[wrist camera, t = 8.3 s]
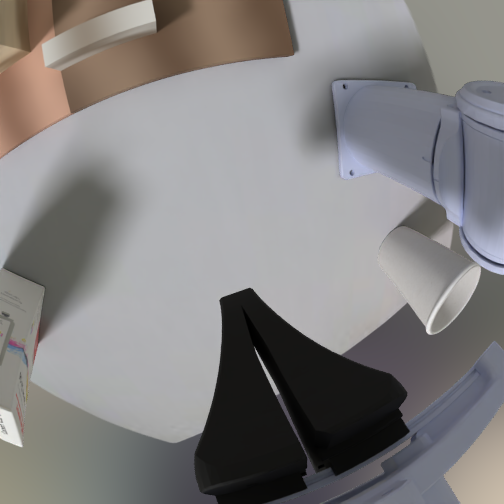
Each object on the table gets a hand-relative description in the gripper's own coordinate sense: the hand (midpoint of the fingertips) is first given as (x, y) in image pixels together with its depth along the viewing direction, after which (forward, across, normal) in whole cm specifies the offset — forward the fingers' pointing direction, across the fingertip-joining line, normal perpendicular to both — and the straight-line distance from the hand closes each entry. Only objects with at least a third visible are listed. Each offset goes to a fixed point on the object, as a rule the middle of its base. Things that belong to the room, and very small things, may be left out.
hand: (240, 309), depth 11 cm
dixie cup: (+10, -19, +10) cm, 24 cm away
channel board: (+9, +2, -18) cm, 20 cm away
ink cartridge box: (+10, +19, +2) cm, 21 cm away
